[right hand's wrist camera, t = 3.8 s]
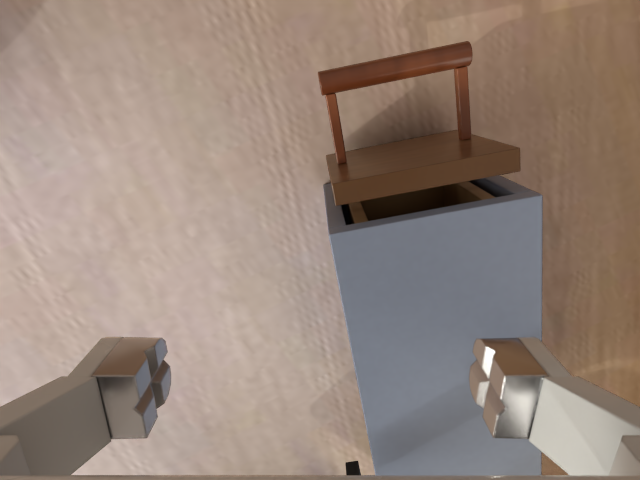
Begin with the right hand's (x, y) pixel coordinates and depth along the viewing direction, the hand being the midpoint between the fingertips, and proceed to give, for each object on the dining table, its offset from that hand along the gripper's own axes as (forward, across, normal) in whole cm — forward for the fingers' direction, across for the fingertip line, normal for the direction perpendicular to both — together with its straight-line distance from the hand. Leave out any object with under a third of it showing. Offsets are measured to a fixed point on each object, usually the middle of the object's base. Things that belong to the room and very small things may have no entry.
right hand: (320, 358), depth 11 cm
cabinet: (+22, +7, -9) cm, 25 cm away
